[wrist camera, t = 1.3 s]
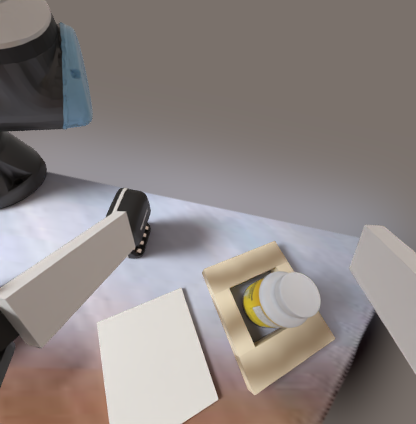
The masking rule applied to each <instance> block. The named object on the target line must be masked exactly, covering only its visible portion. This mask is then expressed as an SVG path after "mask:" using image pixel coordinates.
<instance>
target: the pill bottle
mask: <svg viewBox="0 0 416 424" xmlns="http://www.w3.org/2000/svg"><path fill="white" fill-rule="evenodd" d="M242 303H243V309H244V311H245V314H246V315H247V317H248V318H249V319H250V320H251V321H252V322H253V323H254V324H256V325H258V326H260V327H269V328H293V327H298V326H300V325H302V324H303V323H304V322H305V321H306V320H307V318H309V317H312V316H314V315H315V314H316V313H317V312H318V310H319V308H320V304H321V298H320V294H319V291H318V289H317V287H316V285H315V284H314V282H313V281H312V280H311V279H310V278H309V277H307V276H306V275H304V274H302V273H298V272H291V273H287V272H283V271H277V272H273V273H270V274H269V275H267V276H265V277H264V278H262V279H260V280H258V281H256V282H255V283H253V284H251V285H250V286H248V288H247V289H246V290H245V292H244V295H243V300H242Z"/></svg>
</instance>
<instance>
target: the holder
mask: <svg viewBox="0 0 416 424" xmlns="http://www.w3.org/2000/svg"><path fill="white" fill-rule="evenodd" d="M268 271H270V272H271V273H273V272H277V271H283V272H287V273H291V272H294V271H293V269H292V268H291V266H290V264H289V263H288V261H287V260H286V258H285V256H284V255H283V253H282V252H281V250H280V248H279V247H278V245H277V243H276V242H275V241H273V242H271V243H268V244H266V245H263V246H261V247H258V248H256V249H253V250H251V251H248V252H246V253H243V254H241V255H238V256H236V257H233V258H231V259H228V260H226V261H223V262H221V263H218V264H216V265H213V266H211V267H208V268H206V269H204V270H203V272H202V274H203V277H204V279H205V282H206V284H207V287H208V290H209V292H210V295H211V297H212V300H213V302H214V305H215V307H216V310H217V312H218V315H219V317H220V320H221V322H222V325H223V327H224V330H225V332H226V335H227V338H228V340H229V343H230V345H231V348H232V350H233V353H234V355H235V358H236V360H237V363H238V365H239V368H240V370H241V373H242V375H243V378H244V381H245V383H246V386H247V388H248V390H249V391H250V392H252V393H253V394H254V395H256V394H257V393H259V392H260V391H262V390H263V389H264V388H266V387H267V386H269V385H270V384H272V383H273V382H274V381H276V380H277V379H279V378H280V377H282V376H283V375H285V374H286V373H287V372H289V371H290V370H292V369H293V368H295V367H296V366H297V365H299V364H300V363H302V362H303V361H305V360H306V359H307V358H309V357H310V356H312V355H313V354H315V353H316V352H317V351H319V350H320V349H322V348H323V347H325V346H326V345H327V344H329V343H330V342H332V341H333V340H335V337H334V335H333V334H332V332H331V331H330V329H329V327H328V326H327V324H326V322H325V321H324V319H323V318H322V316H321V314H320V313H319V311H318V312H317V313H316V314H315V315H314V316H312V317H309V318H307V320H306V321H305V322H304V323H303V324H302V325H300V326H298V327H293V328H279V329H277V330H275V331H273V332H272V333H270V334H268V335H267V336H265V337H263V338H262V339H260V340H258V341H257V342H255V343H253V341H252V339H251V336H250V334H249V332H248V330H247V327H246V325H245V323H244V321H243V318H242V316H241V314H240V312H239V309H238V307H237V305H236V303H235V300H234V298H233V296H232V294H231V291H230V288H233V287H235V286H237V285H239V284H241V283H244V282H246V281H248V280H250V279H252V278H254V277H257V276H259V275H261V274H263V273H265V272H268Z"/></svg>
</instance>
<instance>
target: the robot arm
mask: <svg viewBox="0 0 416 424" xmlns="http://www.w3.org/2000/svg"><path fill="white" fill-rule="evenodd" d="M92 115H93V113H92V104H91V97H90V92H89V86H88V80H87V76H86V71H85V66H84V61H83V57H82V53H81V49H80V45H79V42H78V39H77V36H76V34H75V31H74V30H73V28H72V27H70V26H67V25H65V24H63V23H59V24H56V22H55V20H54V18H53V15H52V13H51V11H50V9H49V7H48V5H47V3H46V1H45V0H0V208H4V207H7V206H10V205H12V204H14V203H17V202H19V201H21V200H22V199H24V198H26V197H27V196H29V195H30V194H32V193H33V192H34V191H35V190H36V189H37V188H38V187H39V186H40V185H41V183H42V182H43V180H44V178H45V176H46V171H47V169H46V164H45V162H44V161H43V159H42V158H41V157H40V155H39V154H38V153H37V152H36V151H35V150H34V149H33V148H31V147H30V146H28V145H27V144H25V143H24V142H23V141H21V140H20V139H18V138H17V137H15V136H14V135H12V134H11V133H9V132H8V131H25V130H49V129H67V128H71V127H80V126H86V125H88V124H89V123H90V122H91V120H92ZM134 248H135V243H134V239H133V235H132V232H131V228H130V224H129V220H128V217H127V213H126V212H124V211H115V212H114V213H112V214H111V215H109V216H108V217H106V218H105V219H103V220H102V221H100V222H98V223H97V224H95V225H94V226H92V227H91V228H89V229H88V230H86V231H85V232H83V233H82V234H80V235H79V236H77V237H76V238H74V239H73V240H71V241H70V242H68V243H67V244H65V245H64V246H62V247H61V248H59V249H58V250H56V251H55V252H53V253H52V254H50V255H49V256H47V257H46V258H44V259H43V260H41V261H40V262H38V263H37V264H35V265H34V266H32V267H31V268H29V269H28V270H26V271H25V272H23V273H22V274H20V275H19V276H17V277H16V278H14V279H13V280H11V281H10V282H8V283H7V284H5V285H4V286H2V287H1V288H0V387H1V384H2V382H3V379H4V377H5V374H6V371H7V369H8V366H9V364H10V361H11V358H12V356H13V353H14V350H15V343H14V342H13V341H14V340H15V339H16V338H17V337H18V336H19V335H20V337H21V338H22V339H23V340H24V342H25V343H26V344H27V345H30V346H34V347H38V348H43V346H44V345H45V344H46V343H47V342H48V341H49V340H50V339H51V338H52V337H53V336H54V335H55V334H56V332H57V331H58V330H59V329H60V328H61V327H62V326H63V325H64V324H65V323H66V322H67V321H68V320H69V318H70V317H71V316H72V315H73V314H74V313H75V312H76V311H77V310H78V309H79V308H80V307H81V305H82V304H83V303H84V302H85V301H86V300H87V299H88V298H89V297H90V296H91V295H92V294H93V293H94V291H95V290H96V289H97V288H98V287H99V286H100V285H101V284H102V283H103V282H104V281H105V280H106V279H107V277H108V276H109V275H110V274H111V273H112V272H113V271H114V270H115V269H116V268H117V267H118V266H119V265H120V263H121V262H122V261H123V260H124V259H125V258H126V257H127V256H128V255H129V254H130V253H131V252H132V250H133V249H134ZM349 269H350V271H351V272H352V274H353V276H354V277H355V279H356V280H357V282H358V284H359V285H360V287H361V288H362V290H363V291H364V293H365V295H366V296H367V298H368V299H369V301H370V303H371V304H372V306H373V307H374V309H375V311H376V312H377V314H378V315H379V317H380V318H381V320H382V322H383V323H384V325H385V326H386V328H387V329H388V331H389V333H390V334H391V336H392V338H393V339H394V341H395V342H396V344H397V346H398V347H399V349H400V350H401V352H402V353H403V355H404V357H405V358H406V360H407V361H408V363H409V365H410V366H411V368H412V369H413V371H414V373H415V374H416V253H415V252H414V251H413V250H412V249H411V248H409V247H408V246H407V245H406V244H404V243H403V242H402V241H401V240H400V239H399V238H397V237H396V236H395V235H394V234H392V233H391V232H390V231H389V230H388V229H386V228H385V227H384V226H376V225H365V226H364V228H363V231H362V234H361V237H360V240H359V242H358V245H357V248H356V251H355V254H354V256H353V259H352V262H351V265H350V268H349Z"/></svg>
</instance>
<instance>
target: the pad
mask: <svg viewBox="0 0 416 424" xmlns="http://www.w3.org/2000/svg"><path fill="white" fill-rule="evenodd" d="M97 328H98V336H99V344H100V352H101V360H102V368H103V376H104V384H105V392H106V400H107V408H108V415H109V423H110V424H182V423H183V422H185V421H186V420H188V419H189V418H191V417H192V416H194V415H195V414H197V413H199V412H200V411H202V410H203V409H205V408H206V407H208V406H209V405H211V404H212V403H214V402H215V401H217V400H218V396H217V393H216V390H215V387H214V384H213V381H212V378H211V375H210V372H209V369H208V366H207V363H206V360H205V357H204V354H203V351H202V348H201V345H200V342H199V339H198V336H197V333H196V330H195V327H194V324H193V321H192V318H191V315H190V312H189V309H188V306H187V303H186V300H185V297H184V294H183V291H182V288H179V289H177V290H175V291H172V292H170V293H167V294H165V295H163V296H160V297H158V298H155V299H153V300H150V301H148V302H146V303H143V304H141V305H138V306H136V307H134V308H131V309H129V310H126V311H124V312H122V313H119V314H117V315H114V316H112V317H109V318H107V319H105V320H102V321H100V322H97Z"/></svg>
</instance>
